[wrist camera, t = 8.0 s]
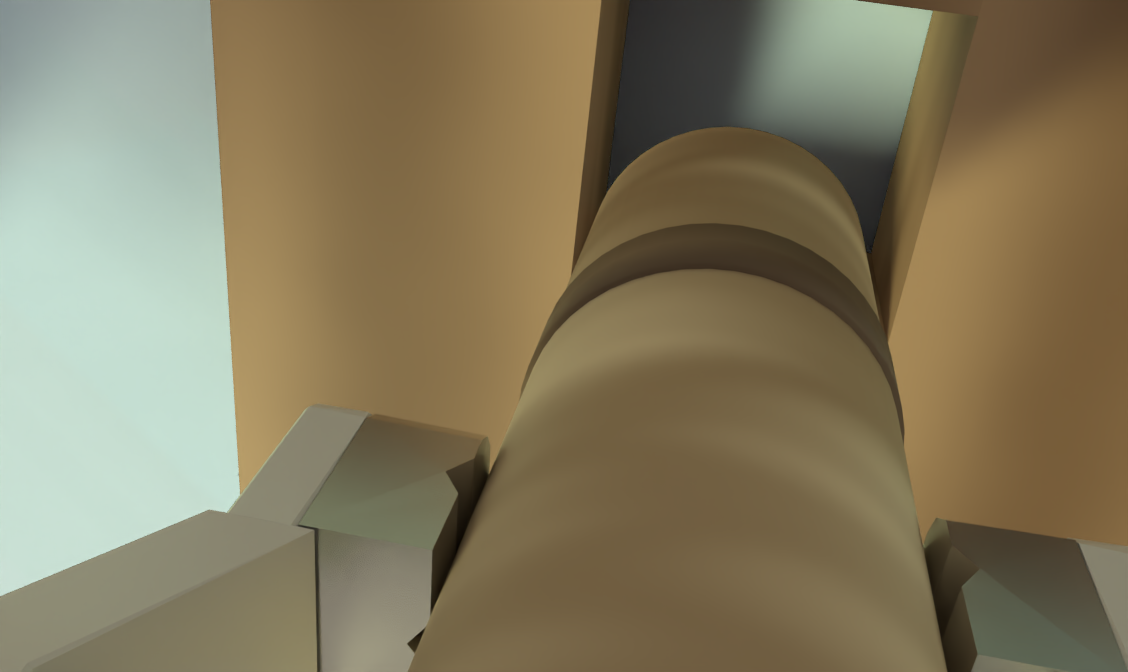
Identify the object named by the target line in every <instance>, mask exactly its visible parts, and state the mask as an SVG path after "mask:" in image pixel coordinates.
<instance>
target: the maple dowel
mask: <svg viewBox="0 0 1128 672" xmlns="http://www.w3.org/2000/svg"><path fill="white" fill-rule="evenodd" d="M904 433H905V429H904V420H903V412H902V405H901V400H900V395H899V390H898V385H897V380H896V376H895V371H894V366H893V361H892V356H891V353H890V349H889V345H888V342H887V338H886V335H885V333H884V331H883V328H882V326H881V324H880V321H879V316H878V311H877V306H876V301H875V296H874V290H873V285H872V280H871V275H870V270H869V265H868V259H867V254H866V249H865V244H864V239H863V234H862V229H861V225H860V222H859V218H858V214H857V212H856V210H855V207H854V205H853V203H852V200H851V198H850V196H849V195H848V193H847V192H846V190H845V188H844V187H843V185H842V184H841V182H840V181H839V180H838V179H837V177H836V176H835V175H834V174H833V173H832V172H831V170H830V169H829V168H828V167H827V166H825V165H824V164H823V163H822V162H821V161H820V160H819V159H818V158H817V157H815V156H814V155H812V154H811V153H809V152H808V151H807V150H805V149H804V148H802V147H801V146H799V145H797V144H795V143H793V142H791V141H789V140H787V139H785V138H782V137H779V136H776V135H773V134H770V133H768V132H764V131H759V130H754V129H749V128H738V127H714V128H706V129H700V130H694V131H690V132H687V133H684V134H680V135H677V136H674V137H672V138H670V139H668V140H665V141H663V142H661V143H659V144H657V145H655V146H654V147H652V148H651V149H649V150H647V151H646V152H644V153H643V154H641V155H640V156H639V157H638V158H637V159H635V160H634V161H633V162H632V163H631V164H629V165H628V166H627V167H626V169H625V170H624V171H623V172H622V173H621V174H620V175H619V176H618V177H617V179H616V180H615V182H614V183H613V184H612V186H611V187H610V189H609V190H608V192H607V194H606V196H605V198H604V200H603V202H602V204H601V206H600V208H599V210H598V213H597V215H596V217H595V220H594V222H593V225H592V227H591V230H590V232H589V234H588V237H587V239H586V242H585V244H584V246H583V249H582V251H581V254H580V256H579V258H578V261H577V263H576V266H575V268H574V271H573V273H572V275H571V278H570V280H569V283H568V285H567V287H566V290H565V292H564V293H563V294H562V296H561V297H560V299H559V300H558V301H557V303H556V305H555V307H554V309H553V311H552V313H551V315H550V317H549V319H548V321H547V323H546V326H545V328H544V330H543V333H542V335H541V337H540V340H539V342H538V344H537V347H536V349H535V352H534V354H533V356H532V359H531V361H530V363H529V366H528V369H527V372H526V375H525V378H524V381H523V384H522V387H521V393H520V399H519V403H518V406H517V408H516V411H515V413H514V416H513V418H512V420H511V423H510V425H509V428H508V430H507V432H506V435H505V437H504V440H503V442H502V445H501V447H500V449H499V452H498V454H497V457H496V459H495V461H494V464H493V466H492V469H491V471H490V473H489V476H488V478H487V481H486V483H485V486H484V488H483V490H482V493H481V495H480V498H479V500H478V502H477V505H476V507H475V510H474V512H473V515H472V517H471V519H470V522H469V524H468V527H467V529H466V531H465V534H464V536H463V539H462V541H461V544H460V546H459V548H458V551H457V553H456V556H455V558H454V560H453V563H452V565H451V568H450V570H449V573H448V575H447V577H446V580H445V582H444V585H443V587H442V589H441V592H440V594H439V597H438V599H437V602H436V604H435V606H434V609H433V611H432V614H431V616H430V618H429V621H428V623H427V626H426V628H425V631H424V633H423V635H422V638H421V640H420V643H419V645H418V647H417V650H416V652H415V655H414V657H413V660H412V662H411V664H410V667H409V669H408V672H947V667H946V662H945V656H944V651H943V646H942V641H941V636H940V631H939V625H938V620H937V615H936V610H935V605H934V600H933V595H932V589H931V584H930V579H929V574H928V569H927V564H926V558H925V553H924V548H923V543H922V538H921V533H920V528H919V522H918V517H917V512H916V507H915V502H914V497H913V491H912V486H911V481H910V476H909V471H908V466H907V461H906V455H905V450H904Z"/></svg>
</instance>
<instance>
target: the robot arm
mask: <svg viewBox="0 0 1128 672" xmlns="http://www.w3.org/2000/svg"><path fill="white" fill-rule="evenodd" d="M490 447H491V446H490V442H489V439H488V436H486V435H481V434H475V433H470V432H465V431H460V430H455V429H450V428H445V427H440V426H435V425H430V424H425V423H420V422H415V421H410V420H405V419H400V418H395V417H390V416H385V415H380V414H374V415H372V414H371V413H369V412H366V411H360V410H354V409H348V408H343V407H337V406H331V405H325V404H319V403H318V404H315V405H312V406H309V407H308V408H306V409H305V410H304V411H303V413H302V414H301V415H300V417H299V418H298V419H297V421H296V422H295V423H294V425H293V426H292V427H291V428H290V430H289V431H288V432H287V434H286V435H285V436H284V438H283V439H282V440H281V442H280V443H279V444H278V446H277V447H276V448H275V450H274V451H273V452H272V454H271V455H270V456H269V458H268V459H267V460H266V462H265V463H264V464H263V466H262V467H261V468H260V469H259V471H258V472H257V473H256V475H255V476H254V477H253V479H252V480H251V481H250V483H249V484H248V485H247V487H246V488H245V489H244V491H243V492H242V493H241V495H240V496H239V497H238V499H237V500H236V501H235V503H234V504H233V505H232V507H231V508H230V509H229V511H228V512H227V513H225V512H219V511H213V510H207V511H205V512H203V513H200V514H198V515H195V516H193V517H190V518H188V519H186V520H183V521H181V522H178V523H176V524H174V525H171V526H169V527H166V528H164V529H162V530H159V531H157V532H154V533H152V534H150V535H147V536H145V537H142V538H140V539H137V540H135V541H133V542H130V543H128V544H125V545H123V546H121V547H118V548H116V549H113V550H111V551H109V552H106V553H104V554H101V555H99V556H97V557H94V558H92V559H89V560H87V561H84V562H82V563H80V564H77V565H75V566H72V567H70V568H68V569H65V570H63V571H60V572H58V573H56V574H53V575H51V576H48V577H46V578H43V579H41V580H39V581H36V582H34V583H31V584H29V585H27V586H24V587H22V588H19V589H17V590H15V591H12V592H10V593H7V594H5V595H3V596H0V672H408V669H409V667H410V664H411V662H412V660H413V657H414V655H415V652H416V650H417V647H418V645H419V643H420V640H421V638H422V635H423V633H424V631H425V628H426V626H427V623H428V621H429V618H430V616H431V614H432V611H433V609H434V606H435V604H436V602H437V599H438V597H439V594H440V592H441V589H442V587H443V585H444V582H445V580H446V577H447V575H448V573H449V570H450V568H451V565H452V563H453V560H454V558H455V556H456V553H457V551H458V548H459V546H460V544H461V541H462V539H463V536H464V534H465V531H466V529H467V527H468V524H469V522H470V519H471V517H472V515H473V512H474V510H475V507H476V505H477V502H478V500H479V498H480V495H481V493H482V490H483V488H484V486H485V483H486V481H487V478H488V476H489V469H490ZM923 548H924V553H925V558H926V564H927V569H928V574H929V579H930V584H931V589H932V595H933V600H934V605H935V610H936V615H937V620H938V625H939V631H940V636H941V641H942V646H943V651H944V656H945V662H946V667H947V672H1128V546H1123V545H1116V544H1109V543H1102V542H1095V541H1088V540H1081V539H1075V538H1067V539H1066V538H1060V537H1054V536H1048V535H1042V534H1035V533H1029V532H1023V531H1017V530H1011V529H1004V528H998V527H992V526H986V525H980V524H974V523H967V522H961V521H955V520H949V519H943V518H937V517H936V518H935V520H934V522H933V524H932V525H931V527H930V529H929V530H928V532H927V535H926V538H925V541H924V544H923Z"/></svg>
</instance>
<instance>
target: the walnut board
mask: <svg viewBox="0 0 1128 672" xmlns="http://www.w3.org/2000/svg"><path fill="white" fill-rule="evenodd" d="M858 1H865V2H873V3H880V4H888V5H895V6H903V7H910V8H918V9H925V10H933V13H932V17H931V21H930V25H929V29H928V33H927V36H926V40H925V44H924V48H923V52H922V56H921V60H920V64H919V68H918V72H917V76H916V79H915V83H914V87H913V91H912V95H911V99H910V103H909V107H908V111H907V115H906V119H905V122H904V126H903V130H902V134H901V138H900V142H899V146H898V150H897V154H896V158H895V161H894V165H893V169H892V173H891V177H890V181H889V185H888V189H887V193H886V197H885V201H884V204H883V208H882V212H881V216H880V220H879V224H878V228H877V232H876V236H875V240H874V243H873V247H872V251H871V253H867V252H866V254H867V259H868V265H869V270H870V275H871V280H872V285H873V290H874V296H875V301H876V306H877V311H878V316H879V321H880V324H881V326H882V328H883V331H884V333H885V335H886V338H887V342H888V345H889V349H890V353H891V356H892V361H893V366H894V371H895V376H896V380H897V385H898V390H899V395H900V400H901V405H902V412H903V420H904V429H905V433H904V450H905V455H906V461H907V466H908V471H909V476H910V481H911V486H912V491H913V497H914V502H915V507H916V512H917V517H918V522H919V528H920V533H921V538H922V543H923V544H924V541H925V538H926V535H927V532H928V530H929V529H930V527H931V525H932V524H933V522H934V520H935V518H936V517H937V518H943V519H949V520H955V521H961V522H967V523H974V524H980V525H986V526H992V527H998V528H1004V529H1011V530H1017V531H1023V532H1029V533H1035V534H1042V535H1048V536H1054V537H1060V538H1066V539H1067V538H1075V539H1081V540H1088V541H1095V542H1102V543H1109V544H1116V545H1123V546H1128V0H858ZM629 3H630V0H210V5H211V21H212V38H213V54H214V71H215V87H216V104H217V120H218V137H219V153H220V169H221V186H222V202H223V219H224V235H225V252H226V268H227V285H228V301H229V317H230V334H231V350H232V367H233V383H234V400H235V416H236V433H237V449H238V465H239V482H240V495H241V493H242V492H243V491H244V489H245V488H246V487H247V485H248V484H249V483H250V481H251V480H252V479H253V477H254V476H255V475H256V473H257V472H258V471H259V469H260V468H261V467H262V466H263V464H264V463H265V462H266V460H267V459H268V458H269V456H270V455H271V454H272V452H273V451H274V450H275V448H276V447H277V446H278V444H279V443H280V442H281V440H282V439H283V438H284V436H285V435H286V434H287V432H288V431H289V430H290V428H291V427H292V426H293V425H294V423H295V422H296V421H297V419H298V418H299V417H300V415H301V414H302V413H303V411H304V410H305V409H306V408H308V407H309V406H312V405H315V404H318V403H319V404H325V405H331V406H337V407H343V408H348V409H354V410H360V411H366V412H369V413H371V414H372V415H374V414H380V415H385V416H390V417H395V418H400V419H405V420H410V421H415V422H420V423H425V424H430V425H435V426H440V427H445V428H450V429H455V430H460V431H465V432H470V433H475V434H481V435H486V436H488V439H489V442H490V446H491V447H490V469H489V473H490V471H491V469H492V466H493V464H494V461H495V459H496V457H497V454H498V452H499V449H500V447H501V445H502V442H503V440H504V437H505V435H506V432H507V430H508V428H509V425H510V423H511V420H512V418H513V416H514V413H515V411H516V408H517V406H518V403H519V399H520V393H521V387H522V384H523V381H524V378H525V375H526V372H527V369H528V366H529V363H530V361H531V359H532V356H533V354H534V352H535V349H536V347H537V344H538V342H539V340H540V337H541V335H542V333H543V330H544V328H545V326H546V323H547V321H548V319H549V317H550V315H551V313H552V311H553V309H554V307H555V305H556V303H557V301H558V300H559V299H560V297H561V296H562V294H563V293H564V292H565V290H566V287H567V285H568V283H569V280H570V278H571V275H572V273H573V271H574V268H575V266H576V263H577V261H578V258H579V256H580V254H581V251H582V249H583V246H584V244H585V242H586V239H587V237H588V234H589V232H590V230H591V227H592V225H593V222H594V220H595V217H596V215H597V213H598V210H599V208H600V206H601V204H602V202H603V200H604V198H605V196H606V191H607V183H608V174H609V166H610V158H611V150H612V142H613V134H614V125H615V117H616V109H617V101H618V93H619V85H620V76H621V68H622V60H623V52H624V44H625V36H626V27H627V19H628V11H629Z"/></svg>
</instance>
